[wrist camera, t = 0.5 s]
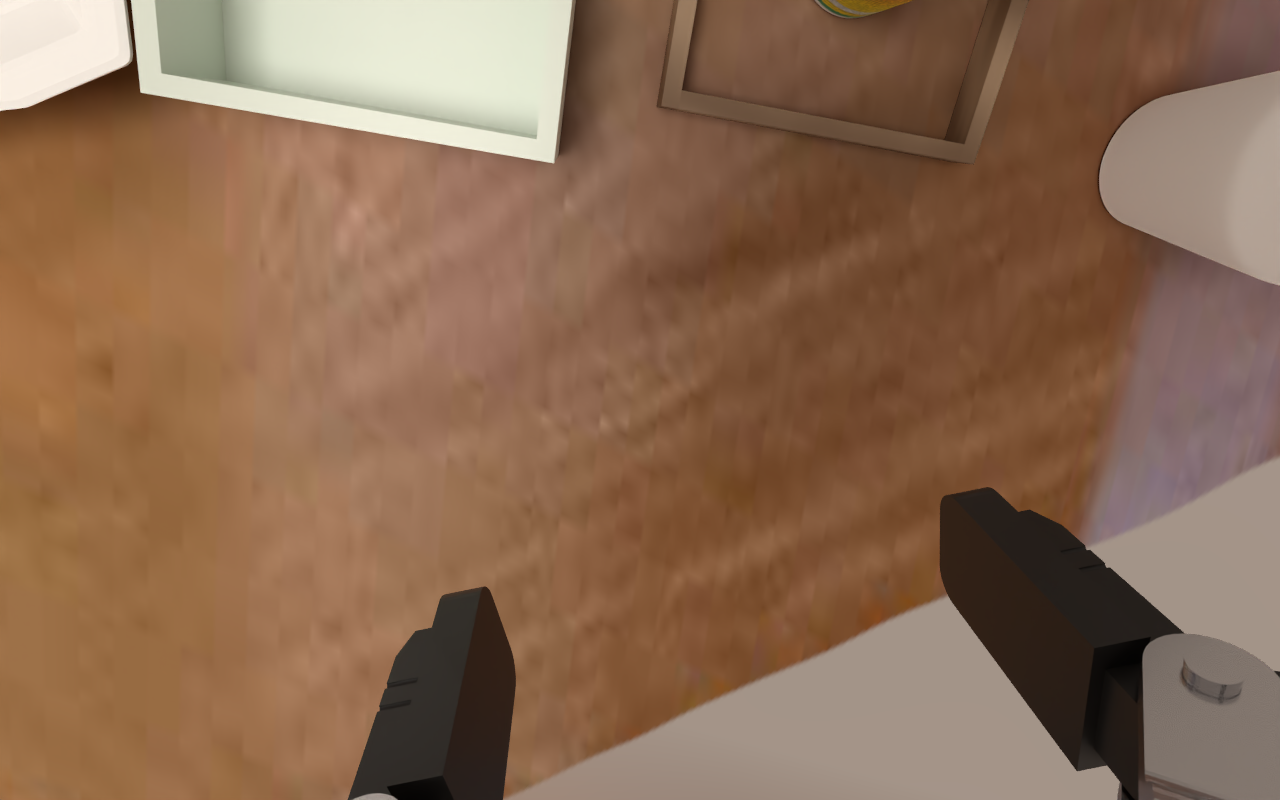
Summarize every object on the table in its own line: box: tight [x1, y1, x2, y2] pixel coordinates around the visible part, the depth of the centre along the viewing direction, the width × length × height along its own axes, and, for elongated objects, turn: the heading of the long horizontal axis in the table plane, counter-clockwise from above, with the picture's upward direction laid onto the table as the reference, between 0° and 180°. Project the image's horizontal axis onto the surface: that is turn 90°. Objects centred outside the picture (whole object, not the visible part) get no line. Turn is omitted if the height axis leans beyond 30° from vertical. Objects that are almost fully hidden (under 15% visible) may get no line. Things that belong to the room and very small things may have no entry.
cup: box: [1099, 71, 1280, 285], centre depth 30 cm, size 9×9×12 cm
